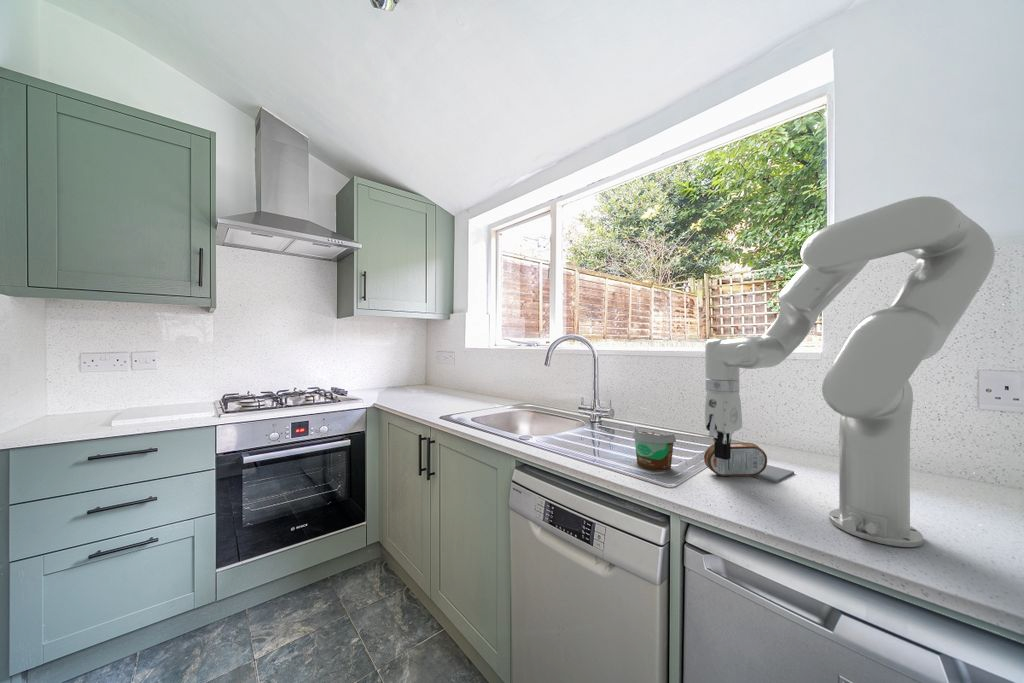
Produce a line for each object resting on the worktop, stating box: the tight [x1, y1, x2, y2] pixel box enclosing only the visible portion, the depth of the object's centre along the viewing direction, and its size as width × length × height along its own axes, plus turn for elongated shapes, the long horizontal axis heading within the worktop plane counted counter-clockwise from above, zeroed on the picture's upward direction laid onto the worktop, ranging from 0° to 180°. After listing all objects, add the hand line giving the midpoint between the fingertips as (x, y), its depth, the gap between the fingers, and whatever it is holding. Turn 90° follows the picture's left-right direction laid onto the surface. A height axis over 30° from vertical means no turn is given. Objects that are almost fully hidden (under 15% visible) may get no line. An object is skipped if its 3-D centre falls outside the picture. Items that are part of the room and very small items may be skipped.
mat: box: [750, 464, 795, 484], centre depth 101 cm, size 12×16×1 cm
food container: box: [631, 427, 677, 472], centre depth 103 cm, size 12×6×10 cm, turn 47°
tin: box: [703, 442, 768, 477], centre depth 96 cm, size 15×3×8 cm, turn 84°
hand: (722, 457), depth 93 cm, fingers closed
